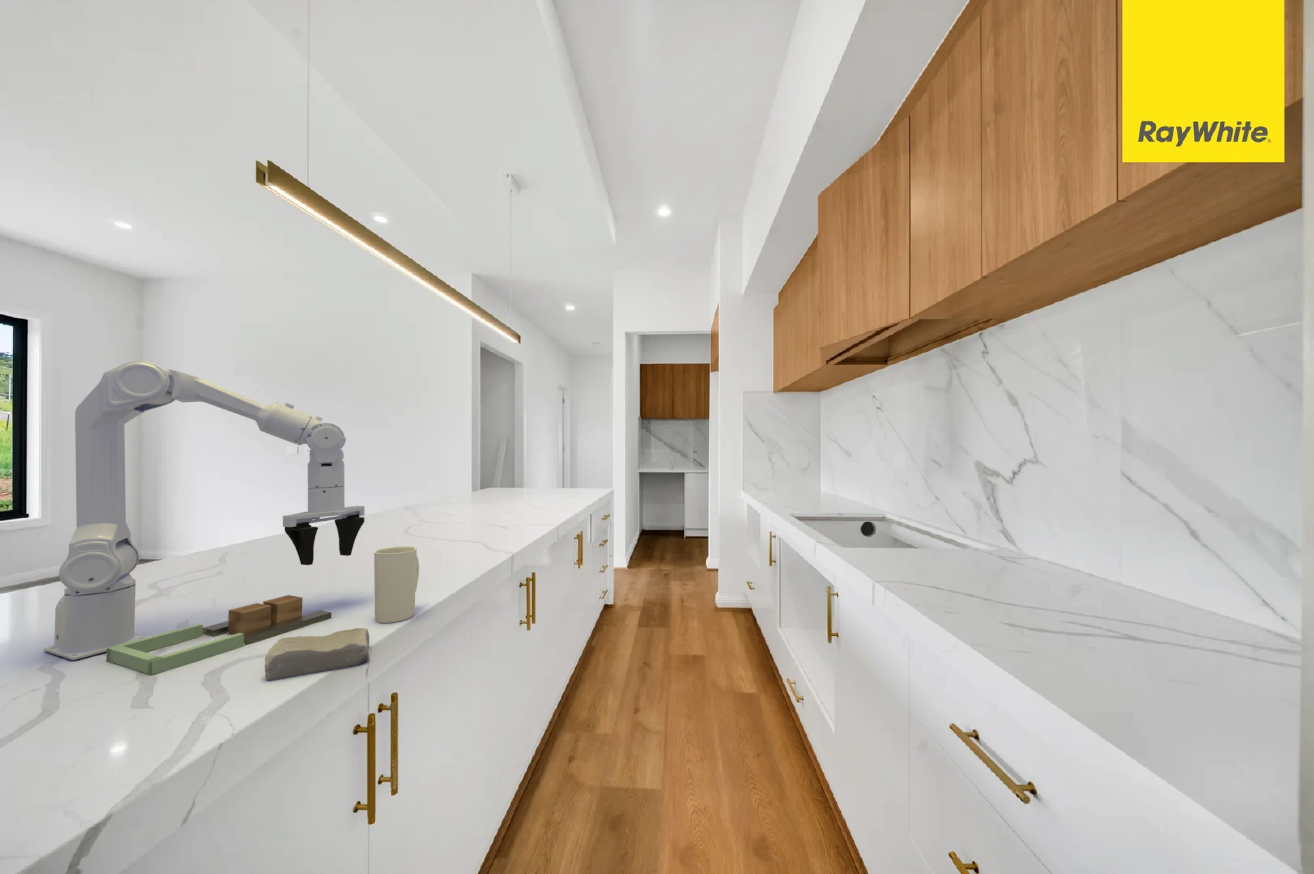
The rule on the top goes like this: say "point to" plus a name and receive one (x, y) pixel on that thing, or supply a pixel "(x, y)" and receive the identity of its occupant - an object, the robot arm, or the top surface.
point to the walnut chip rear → (285, 608)
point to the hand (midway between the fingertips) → (326, 559)
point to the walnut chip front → (248, 618)
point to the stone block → (316, 654)
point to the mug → (395, 583)
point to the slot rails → (271, 627)
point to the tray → (151, 664)
